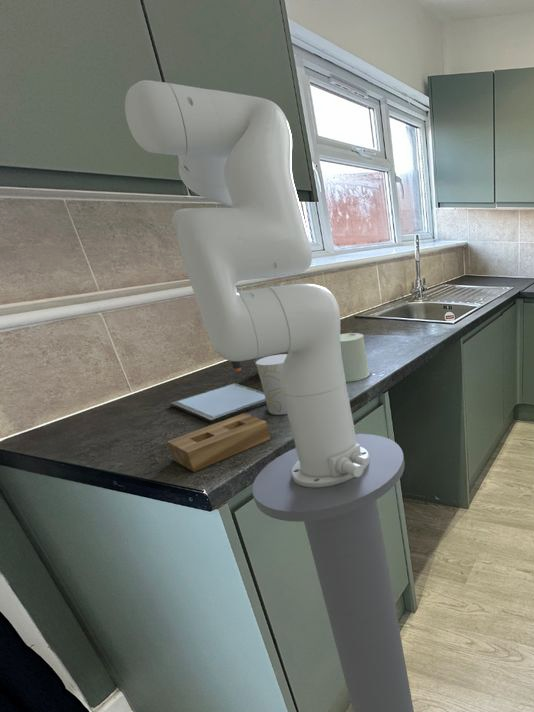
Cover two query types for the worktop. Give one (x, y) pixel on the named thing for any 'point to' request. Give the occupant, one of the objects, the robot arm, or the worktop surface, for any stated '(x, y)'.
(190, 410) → the tablet
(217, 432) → the holder
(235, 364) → the stylus
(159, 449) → the worktop surface
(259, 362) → the cup
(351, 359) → the pale green tapered cylinder
